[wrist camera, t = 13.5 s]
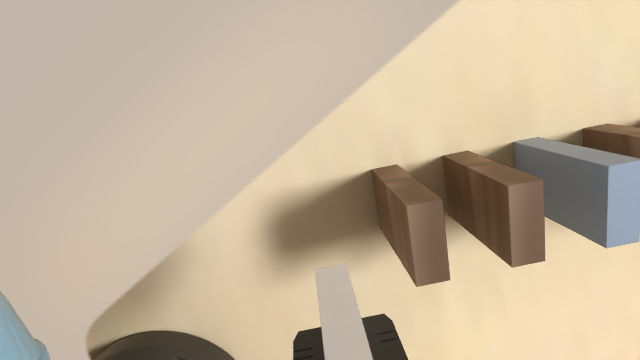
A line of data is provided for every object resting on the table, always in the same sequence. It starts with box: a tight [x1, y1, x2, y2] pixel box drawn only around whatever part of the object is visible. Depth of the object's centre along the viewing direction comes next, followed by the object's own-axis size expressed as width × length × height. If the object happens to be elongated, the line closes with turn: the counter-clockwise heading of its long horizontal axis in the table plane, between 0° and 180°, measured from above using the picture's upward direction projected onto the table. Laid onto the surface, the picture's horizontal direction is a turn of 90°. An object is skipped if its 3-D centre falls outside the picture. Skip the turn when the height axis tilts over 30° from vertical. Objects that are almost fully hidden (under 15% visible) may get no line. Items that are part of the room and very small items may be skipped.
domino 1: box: [372, 165, 450, 287], centre depth 25 cm, size 2×5×9 cm, turn 10°
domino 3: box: [514, 137, 640, 248], centre depth 25 cm, size 2×5×9 cm, turn 10°
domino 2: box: [443, 151, 545, 267], centre depth 25 cm, size 2×5×9 cm, turn 10°
